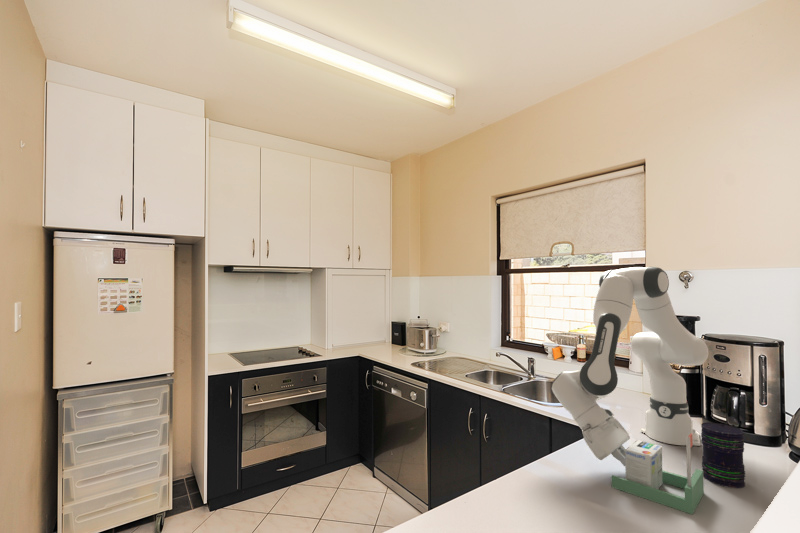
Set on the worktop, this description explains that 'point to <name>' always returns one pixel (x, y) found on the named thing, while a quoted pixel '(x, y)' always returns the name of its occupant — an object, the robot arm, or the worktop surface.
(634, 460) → the light bulb box
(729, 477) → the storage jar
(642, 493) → the putting bay
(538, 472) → the worktop surface
